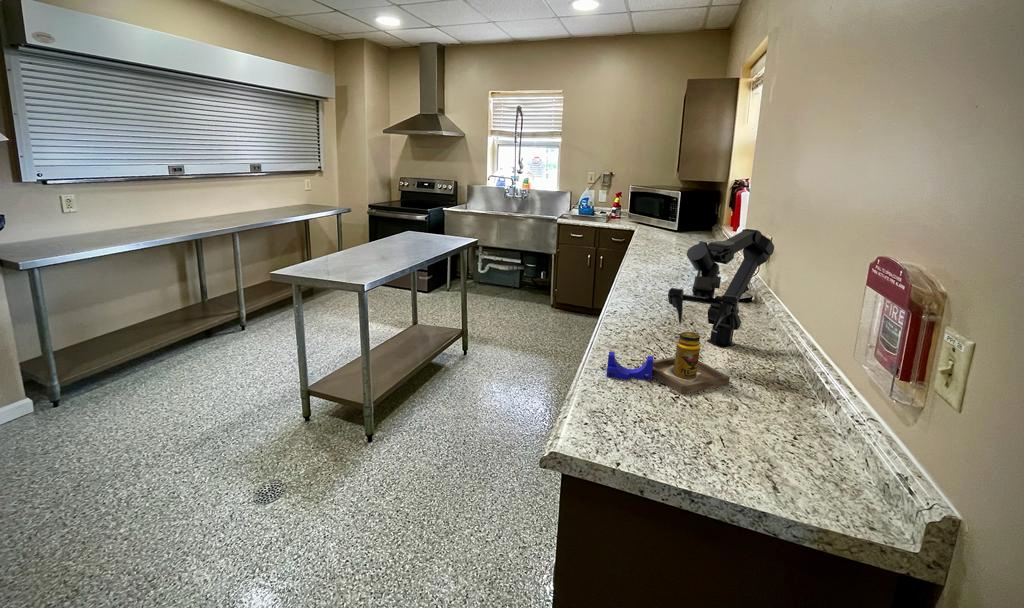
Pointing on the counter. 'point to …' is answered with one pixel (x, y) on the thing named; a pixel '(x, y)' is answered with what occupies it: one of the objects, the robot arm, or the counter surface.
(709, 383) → the dock holder
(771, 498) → the counter surface
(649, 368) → the cable clip
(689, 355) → the condiment
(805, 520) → the counter surface
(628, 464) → the counter surface
